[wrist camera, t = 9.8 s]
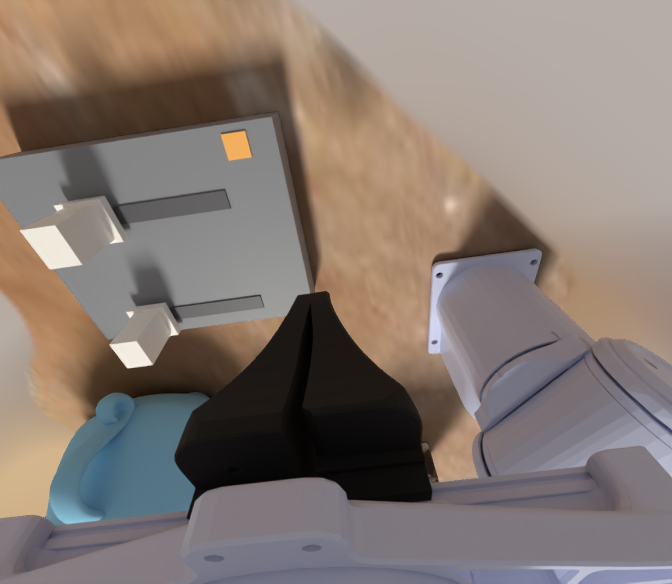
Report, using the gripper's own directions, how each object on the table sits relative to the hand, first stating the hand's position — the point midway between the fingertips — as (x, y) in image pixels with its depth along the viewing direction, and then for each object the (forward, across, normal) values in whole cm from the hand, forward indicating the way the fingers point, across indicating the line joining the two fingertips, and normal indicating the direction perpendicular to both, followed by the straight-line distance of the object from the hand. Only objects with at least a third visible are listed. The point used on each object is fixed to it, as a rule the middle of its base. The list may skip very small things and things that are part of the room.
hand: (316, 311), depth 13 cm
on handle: (+6, +11, +4) cm, 13 cm away
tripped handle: (+6, +11, -4) cm, 13 cm away
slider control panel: (+9, +8, -1) cm, 13 cm away
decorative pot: (+10, +18, +20) cm, 29 cm away
